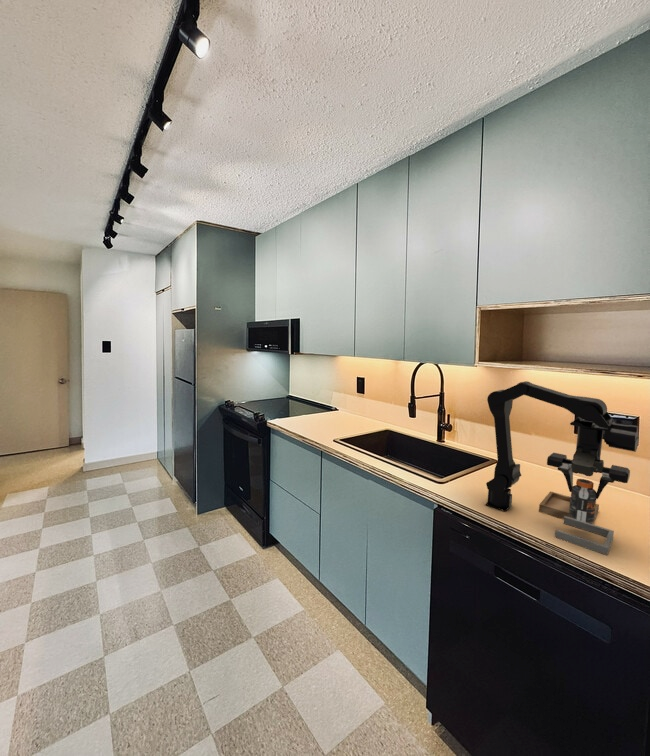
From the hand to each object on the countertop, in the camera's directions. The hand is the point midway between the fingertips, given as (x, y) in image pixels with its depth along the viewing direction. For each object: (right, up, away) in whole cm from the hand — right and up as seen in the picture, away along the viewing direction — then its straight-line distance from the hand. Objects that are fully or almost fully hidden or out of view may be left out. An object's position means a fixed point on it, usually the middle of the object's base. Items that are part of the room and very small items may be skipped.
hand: (583, 495), depth 104 cm
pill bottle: (0, -7, +1) cm, 7 cm away
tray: (+6, -10, +14) cm, 19 cm away
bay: (-1, -12, 0) cm, 12 cm away
